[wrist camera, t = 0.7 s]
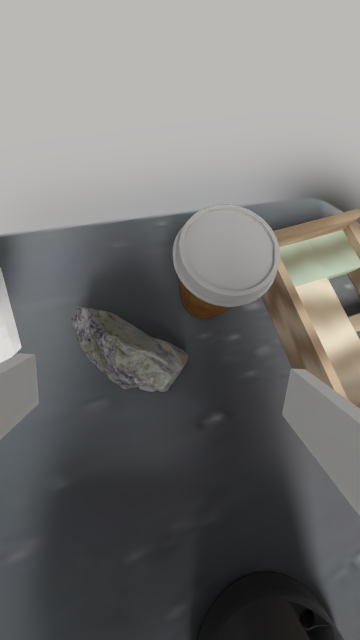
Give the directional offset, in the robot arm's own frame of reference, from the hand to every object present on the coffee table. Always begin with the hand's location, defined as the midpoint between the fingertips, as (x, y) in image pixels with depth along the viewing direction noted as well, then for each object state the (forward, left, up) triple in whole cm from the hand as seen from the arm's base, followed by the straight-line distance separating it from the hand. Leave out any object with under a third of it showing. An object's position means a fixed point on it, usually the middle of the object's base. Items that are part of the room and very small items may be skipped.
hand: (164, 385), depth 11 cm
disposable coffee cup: (+8, -8, -16) cm, 20 cm away
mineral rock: (+4, +3, -16) cm, 17 cm away
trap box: (-3, -24, -16) cm, 29 cm away
